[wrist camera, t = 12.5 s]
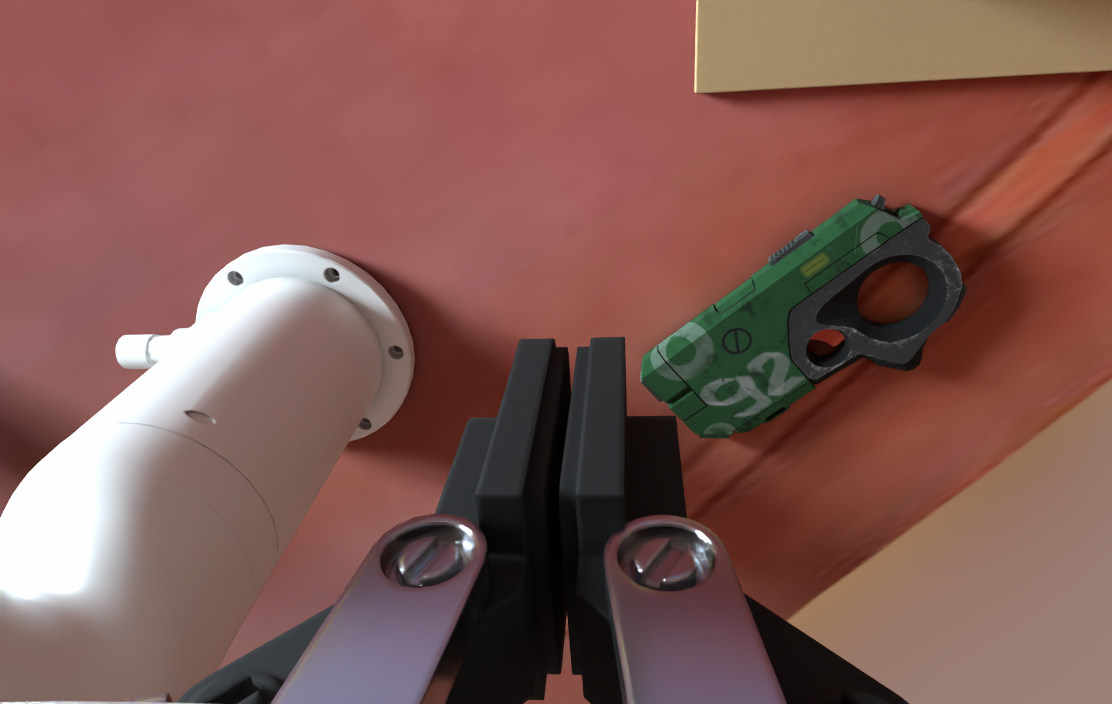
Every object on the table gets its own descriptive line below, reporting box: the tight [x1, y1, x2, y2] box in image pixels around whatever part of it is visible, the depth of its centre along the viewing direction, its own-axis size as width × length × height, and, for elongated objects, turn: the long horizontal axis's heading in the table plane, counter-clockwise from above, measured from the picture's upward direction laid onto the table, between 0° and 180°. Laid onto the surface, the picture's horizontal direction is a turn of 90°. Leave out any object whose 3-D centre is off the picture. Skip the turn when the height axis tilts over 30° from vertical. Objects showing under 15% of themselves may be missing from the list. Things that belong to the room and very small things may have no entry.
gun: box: [640, 194, 967, 438], centre depth 40 cm, size 16×1×10 cm
